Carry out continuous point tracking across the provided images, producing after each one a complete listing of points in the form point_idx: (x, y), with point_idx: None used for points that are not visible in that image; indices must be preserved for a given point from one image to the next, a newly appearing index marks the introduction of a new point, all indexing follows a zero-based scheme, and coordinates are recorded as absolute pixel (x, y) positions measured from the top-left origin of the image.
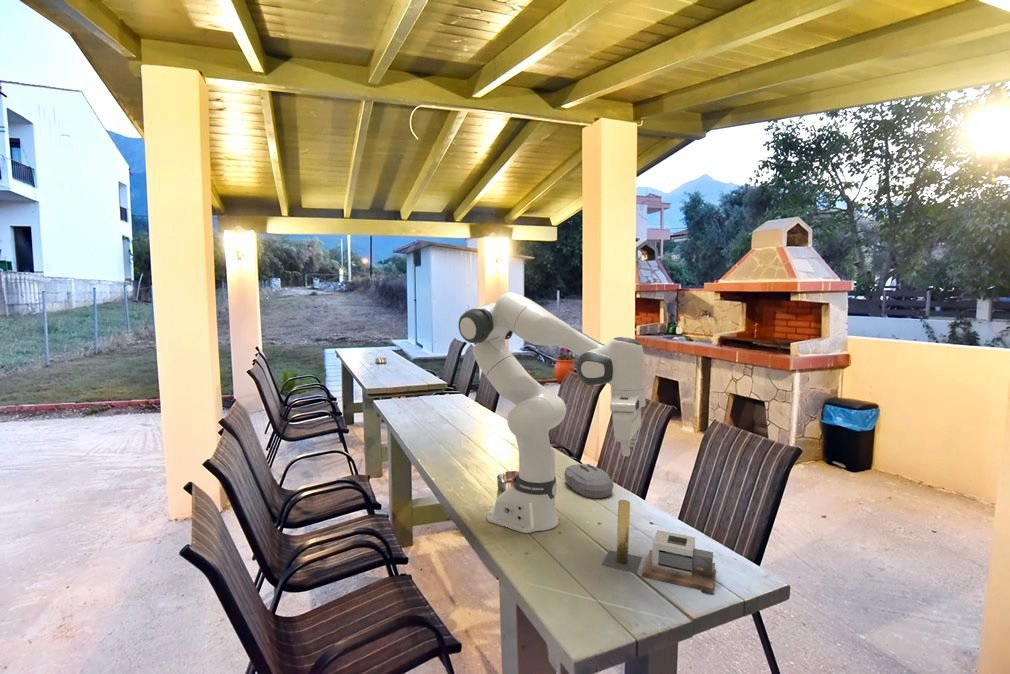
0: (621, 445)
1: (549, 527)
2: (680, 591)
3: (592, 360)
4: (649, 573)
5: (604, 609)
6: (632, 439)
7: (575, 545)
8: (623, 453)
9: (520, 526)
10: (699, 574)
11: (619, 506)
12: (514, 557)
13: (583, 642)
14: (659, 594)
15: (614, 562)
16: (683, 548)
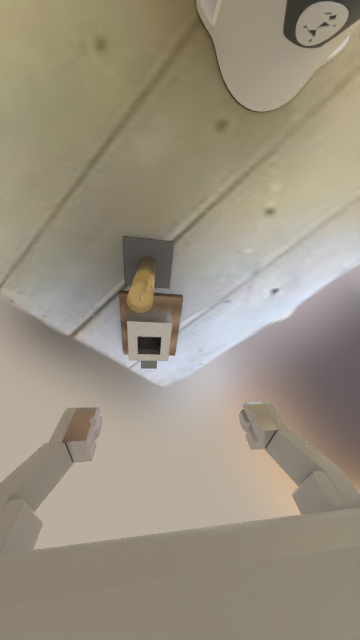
0: (5, 481)
1: (231, 87)
2: (114, 327)
3: None
4: (121, 301)
5: (20, 254)
6: (270, 441)
7: (176, 177)
8: (62, 421)
9: None
10: None
11: (130, 289)
12: (62, 2)
13: None
14: (96, 309)
15: (139, 254)
16: (130, 352)
